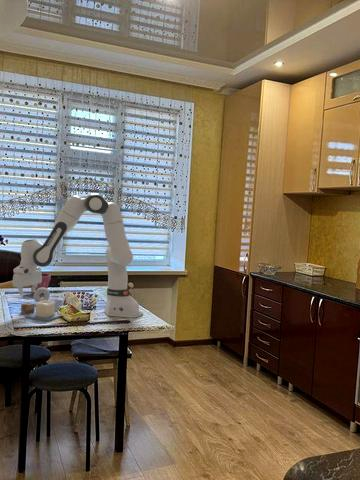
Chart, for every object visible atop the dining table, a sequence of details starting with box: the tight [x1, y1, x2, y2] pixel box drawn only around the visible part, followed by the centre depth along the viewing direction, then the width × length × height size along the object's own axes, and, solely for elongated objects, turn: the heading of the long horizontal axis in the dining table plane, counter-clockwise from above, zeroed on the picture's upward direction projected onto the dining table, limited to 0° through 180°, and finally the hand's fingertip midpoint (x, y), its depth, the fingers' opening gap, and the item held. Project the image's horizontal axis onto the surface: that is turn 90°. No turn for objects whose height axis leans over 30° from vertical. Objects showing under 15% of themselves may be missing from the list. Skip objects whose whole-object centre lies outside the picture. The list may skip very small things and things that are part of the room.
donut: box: [33, 287, 51, 303], centre depth 269 cm, size 10×3×10 cm, turn 128°
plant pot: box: [30, 272, 52, 296], centre depth 298 cm, size 14×14×13 cm
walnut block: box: [20, 301, 36, 315], centre depth 247 cm, size 5×5×5 cm
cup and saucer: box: [25, 300, 61, 323], centre depth 239 cm, size 14×14×8 cm
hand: (27, 293), depth 246 cm, fingers open, 8 cm apart
